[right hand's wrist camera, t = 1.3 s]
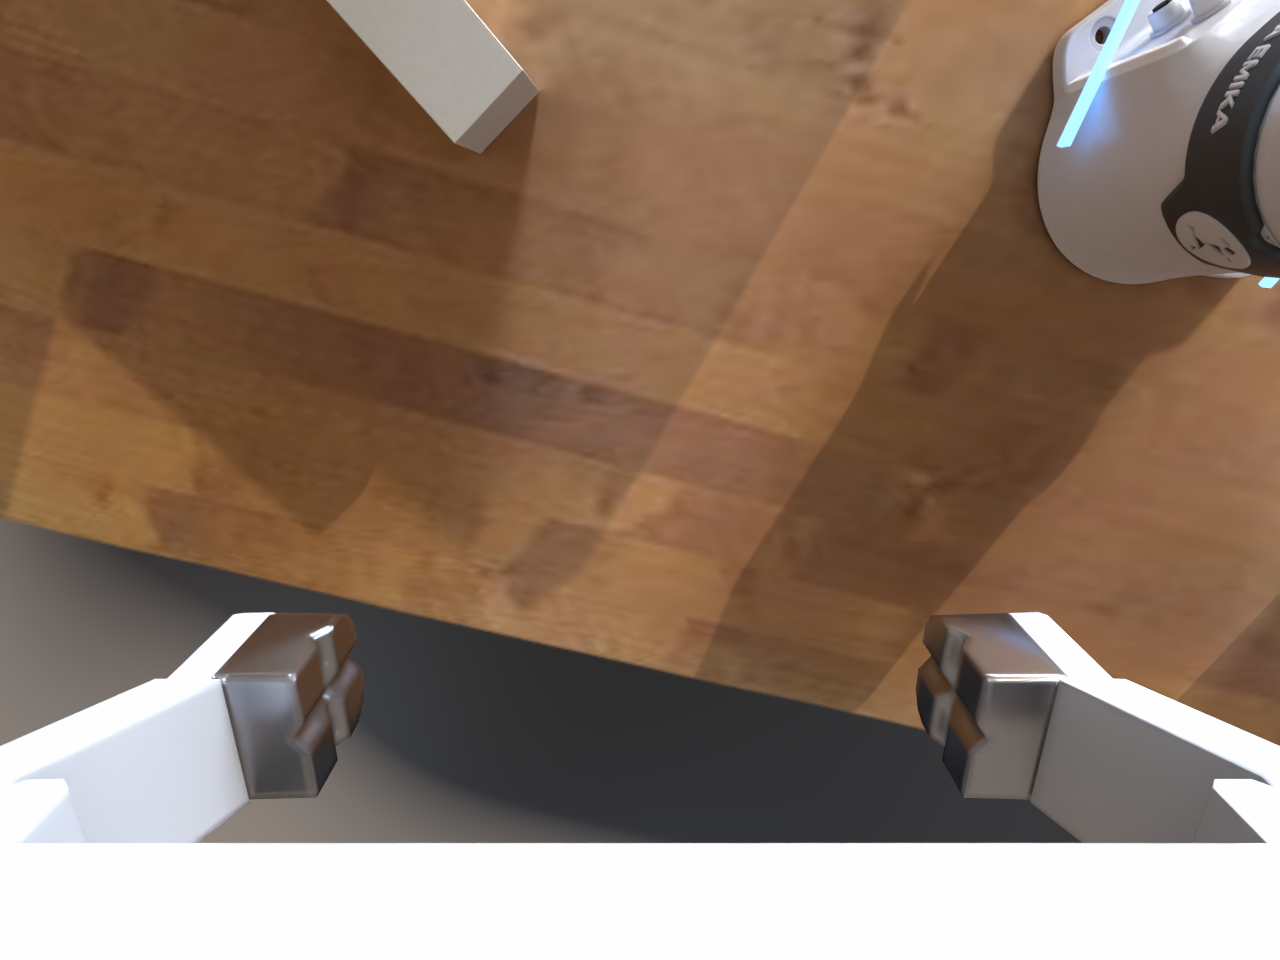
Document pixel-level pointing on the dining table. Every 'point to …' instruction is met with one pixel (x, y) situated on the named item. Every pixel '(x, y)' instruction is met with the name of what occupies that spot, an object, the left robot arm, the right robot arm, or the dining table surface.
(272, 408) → the dining table surface
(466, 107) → the post
